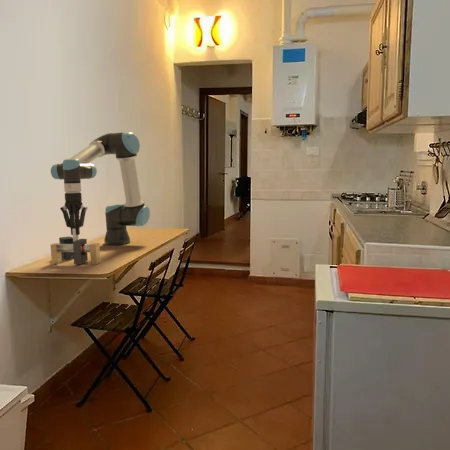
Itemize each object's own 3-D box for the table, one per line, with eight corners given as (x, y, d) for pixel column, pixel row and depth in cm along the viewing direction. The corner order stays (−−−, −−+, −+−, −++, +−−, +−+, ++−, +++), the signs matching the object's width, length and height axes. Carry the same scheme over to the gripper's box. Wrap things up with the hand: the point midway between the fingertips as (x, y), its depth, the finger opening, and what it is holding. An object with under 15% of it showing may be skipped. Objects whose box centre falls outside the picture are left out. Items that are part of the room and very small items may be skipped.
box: (76, 258, 239) (74, 237, 238) (64, 259, 236) (63, 239, 234) (71, 256, 245) (69, 236, 244) (60, 257, 242) (58, 237, 241)
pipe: (51, 264, 226) (50, 244, 225) (56, 262, 230) (54, 243, 229) (96, 264, 222) (95, 244, 221) (100, 262, 226) (99, 243, 225)
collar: (74, 264, 222) (73, 241, 220) (81, 260, 229) (80, 238, 228) (80, 264, 221) (79, 241, 220) (87, 260, 229) (86, 238, 227)
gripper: (56, 192, 219) (59, 242, 222) (82, 192, 216) (84, 243, 220) (64, 191, 226) (67, 240, 229) (89, 191, 224) (92, 240, 227)
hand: (75, 241), depth 224 cm, fingers closed
